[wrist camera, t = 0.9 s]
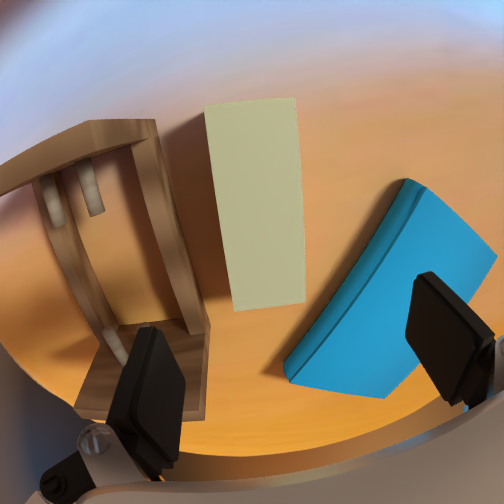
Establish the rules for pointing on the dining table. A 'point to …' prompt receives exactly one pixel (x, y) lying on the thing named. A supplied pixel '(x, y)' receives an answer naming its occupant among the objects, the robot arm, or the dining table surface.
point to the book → (388, 297)
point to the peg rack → (79, 267)
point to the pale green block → (259, 199)
